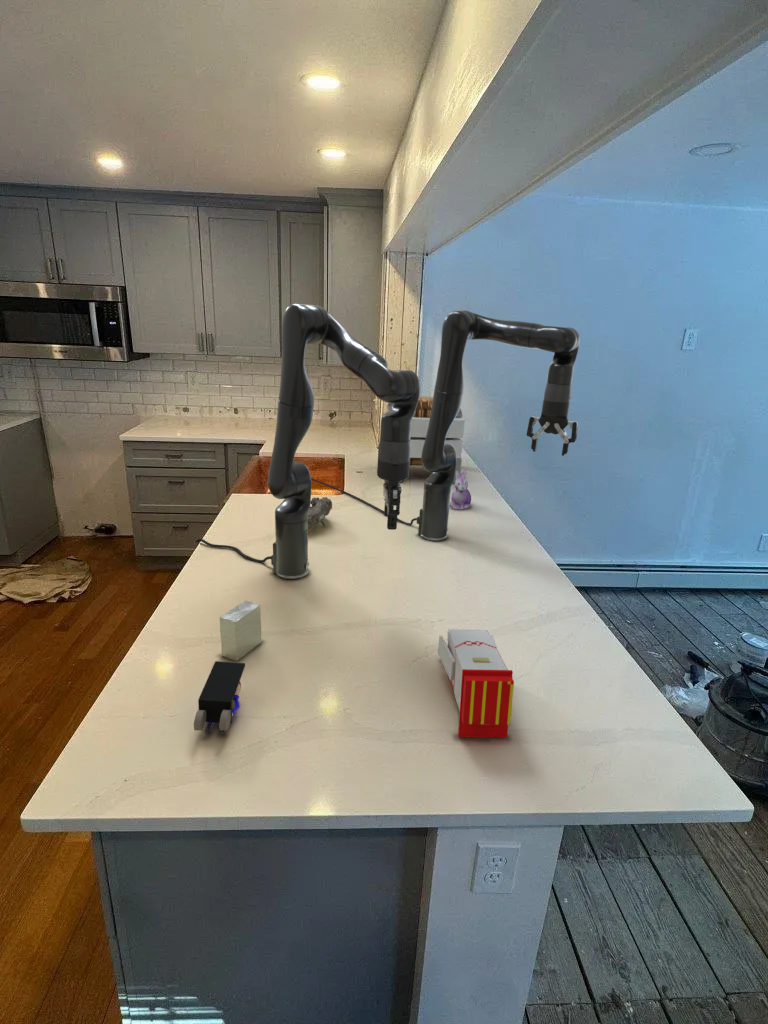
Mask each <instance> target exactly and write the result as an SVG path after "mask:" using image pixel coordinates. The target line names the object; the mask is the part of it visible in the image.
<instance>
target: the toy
mask: <svg viewBox="0 0 768 1024" xmlns="http://www.w3.org/2000/svg"><path fill="white" fill-rule="evenodd" d="M446 640H447V643H446V641H445V639H444V636H443V635H442V634H439V637H438V646H437V656H438V657H439V659H440V661H441V663H442V666H443V668H444V670H445V672H446V674H447V677H448V679H449V681H450V684H451V687H452V690H453V693H454V697H455V701H456V705H457V708H458V711H459V714H458V715H459V716H458V730H457V731H458V732H457V737H458V738H508V731H509V726H510V725H511V717H512V707H513V697H514V696H513V695H514V684H515V680H514V679H513V673H514V671H513V670H512V669H508V667H507V665H506V662H505V661H504V659H503V658H502V655H501V653H500V651H499V649H498V647H497V643H496V639H495V637H494V635H493V634H491V632H490V631H489V629H467V628H466V629H465V628H463V629H461V628H460V629H459V628H448V630H447V639H446Z"/></svg>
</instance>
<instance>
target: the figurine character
mask: <svg viewBox="0 0 768 1024" xmlns="http://www.w3.org/2000/svg"><path fill="white" fill-rule="evenodd" d="M245 667H246V662H232V661H217V660H215V661H214V663H213V665H212V668H211V670H210V672H209V674H208V677H207V678H206V681H205V684H204V686H203V688H202V690H201V692H200V695H199V697H198V700H197V701H198V704H197V705H198V710H196V713H195V716H194V721H193V729H194V731H204V733H205V735H206V736H207V735H208V734H210V732H211V727H212V725H213V724H218V725H219V726H218V727H219V730H220V735H221V736H222V735H224V734H225V733H226V731H228V730H229V728H230V725H232V723H233V716H234V714H235V713H236V712H237V711H238V710H239V709H240V707H241V705H240V702H239V699H240V696H239V695H240V693H241V690H242V683H241V678H242V676H243V673H244V670H245ZM233 702H234V704H235V706H234V707H233ZM206 723H207V724H206ZM205 726H206V727H205ZM204 728H205V730H204Z"/></svg>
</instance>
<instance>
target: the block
mask: <svg viewBox="0 0 768 1024" xmlns="http://www.w3.org/2000/svg"><path fill="white" fill-rule="evenodd" d="M219 629H220V630H219V631H220V644H221V645H220V647H221V656H222V657H223V658H227V659H230V660H233V661H235V662H238V661H240V660H241V659H242V658H244V656H246V655H247V654H248V653H250V652H251V651H252V650H254V649H255V648H256V647H257V646H259V645H260V644H261V643H262V642H263V641H262V640H263V637H262V636H263V635H262V611H261V604H259V603H255V602H252V601H249V600H244V601H243V602H241V603H240V604H239V603H238V605H236V606H234V607H233V608H231V609H229V611H227V612H225V613H224V614H222V615H220V616H219Z"/></svg>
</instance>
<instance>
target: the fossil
mask: <svg viewBox="0 0 768 1024" xmlns="http://www.w3.org/2000/svg"><path fill="white" fill-rule="evenodd" d="M310 505H311V506H310V509H309V512H308V533H309V532H311V531H312V530H314V529H315V528H316V527H317V526H318V525H319V524H322V525H323V526H324V527H325V526H326V524H325V523H324V519H325V518H326V517H327V516H329V514H330V512H331V510H332V509H333V501H332V500H331V499H330V498H328V497H327V496H325V497H321V498H320V497H311V504H310Z"/></svg>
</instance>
